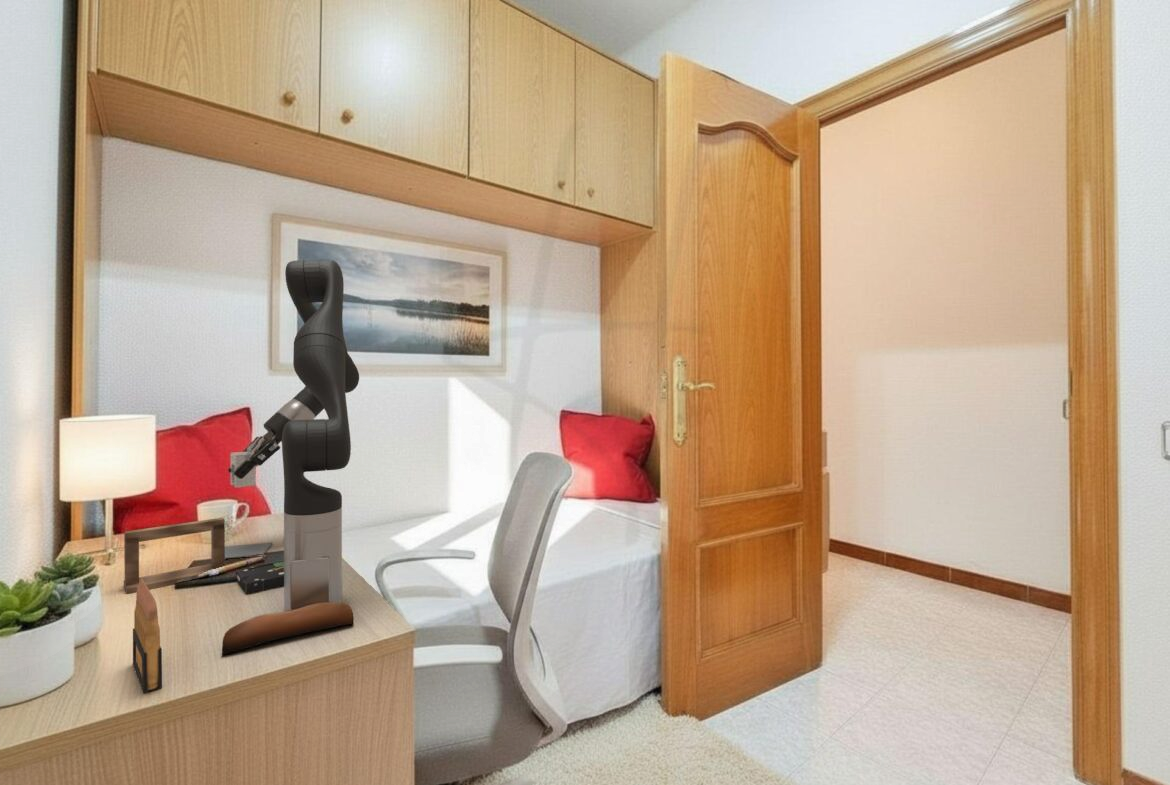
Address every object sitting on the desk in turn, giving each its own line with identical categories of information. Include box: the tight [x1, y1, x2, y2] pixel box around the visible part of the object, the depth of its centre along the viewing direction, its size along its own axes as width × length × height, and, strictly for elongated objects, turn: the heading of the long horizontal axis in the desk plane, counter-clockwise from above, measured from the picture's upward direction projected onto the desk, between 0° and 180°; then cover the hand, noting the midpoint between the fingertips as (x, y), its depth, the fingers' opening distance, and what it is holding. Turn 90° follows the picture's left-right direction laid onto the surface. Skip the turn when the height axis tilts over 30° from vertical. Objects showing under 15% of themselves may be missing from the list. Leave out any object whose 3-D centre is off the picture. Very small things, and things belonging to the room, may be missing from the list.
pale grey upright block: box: [230, 451, 257, 489], centre depth 126 cm, size 4×5×8 cm
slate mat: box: [225, 542, 273, 559], centre depth 126 cm, size 10×10×1 cm
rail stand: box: [123, 517, 226, 595], centre depth 108 cm, size 16×6×11 cm, turn 135°
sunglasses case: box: [221, 602, 355, 656], centre depth 85 cm, size 18×7×7 cm
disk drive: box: [235, 560, 284, 595], centre depth 109 cm, size 10×3×15 cm
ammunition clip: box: [132, 579, 163, 694], centre depth 72 cm, size 11×2×12 cm, turn 46°
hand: (234, 474), depth 125 cm, fingers closed on pale grey upright block, 5 cm apart
